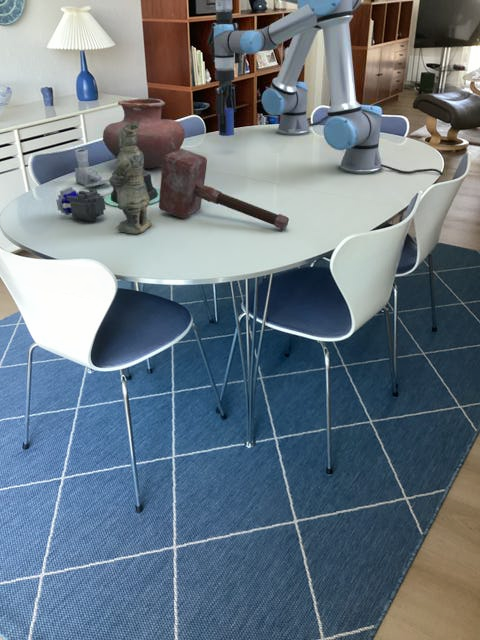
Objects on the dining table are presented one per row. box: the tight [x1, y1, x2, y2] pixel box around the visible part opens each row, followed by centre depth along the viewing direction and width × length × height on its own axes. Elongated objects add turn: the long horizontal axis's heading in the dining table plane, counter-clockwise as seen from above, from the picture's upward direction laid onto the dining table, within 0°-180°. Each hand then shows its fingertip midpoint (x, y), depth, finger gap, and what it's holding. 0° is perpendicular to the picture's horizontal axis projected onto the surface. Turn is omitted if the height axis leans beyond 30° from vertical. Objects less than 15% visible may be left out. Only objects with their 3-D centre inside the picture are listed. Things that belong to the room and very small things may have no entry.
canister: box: [217, 106, 235, 137], centre depth 226 cm, size 6×6×10 cm
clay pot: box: [102, 98, 186, 169], centre depth 213 cm, size 30×30×25 cm
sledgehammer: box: [158, 148, 290, 231], centre depth 163 cm, size 17×10×40 cm
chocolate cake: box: [103, 168, 160, 207], centre depth 186 cm, size 15×19×20 cm
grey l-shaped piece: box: [74, 148, 110, 188], centre depth 197 cm, size 9×12×15 cm
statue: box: [108, 121, 153, 235], centre depth 154 cm, size 11×9×30 cm
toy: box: [56, 186, 107, 222], centre depth 168 cm, size 9×9×15 cm
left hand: (225, 62), depth 261 cm, fingers open, 13 cm apart
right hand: (226, 130), depth 227 cm, fingers closed on canister, 6 cm apart
